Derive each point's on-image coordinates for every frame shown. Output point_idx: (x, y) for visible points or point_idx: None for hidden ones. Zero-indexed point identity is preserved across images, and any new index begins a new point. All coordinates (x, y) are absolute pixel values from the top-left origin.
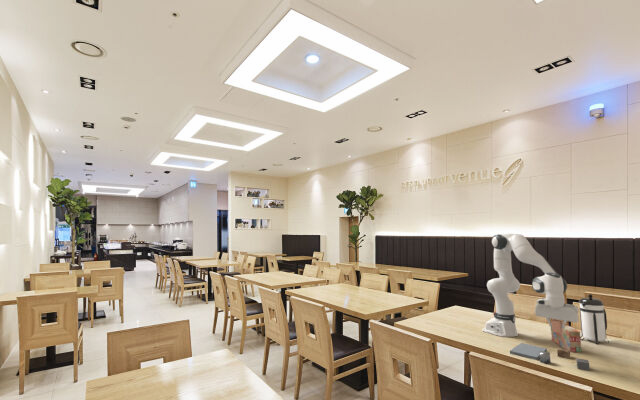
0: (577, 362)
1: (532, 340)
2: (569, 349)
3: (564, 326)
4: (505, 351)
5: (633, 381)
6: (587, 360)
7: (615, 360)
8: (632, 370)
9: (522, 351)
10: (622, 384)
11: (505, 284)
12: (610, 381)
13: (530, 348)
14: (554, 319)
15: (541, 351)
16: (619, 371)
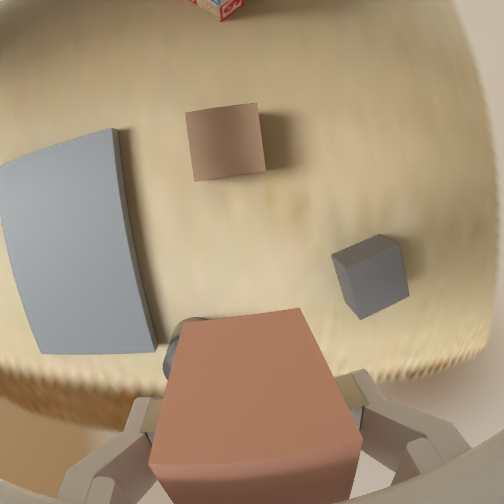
0: (358, 316)
1: (19, 35)
2: (214, 13)
3: (373, 393)
4: (25, 334)
5: (497, 256)
6: (398, 254)
7: (416, 20)
8: (486, 120)
9: (66, 318)
10: (472, 319)
11: None
12: (448, 328)
13: (56, 226)
14: (185, 474)
15: (168, 360)
16: (467, 174)
